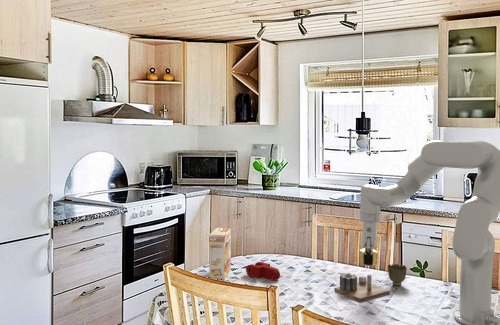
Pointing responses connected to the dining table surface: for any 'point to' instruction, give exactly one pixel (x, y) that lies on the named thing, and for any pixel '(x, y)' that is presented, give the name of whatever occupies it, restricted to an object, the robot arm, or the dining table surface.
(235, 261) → the dining table surface
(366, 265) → the brass gear
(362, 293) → the gear board
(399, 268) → the cup
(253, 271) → the mechanical linkage
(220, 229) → the coffeecake box
